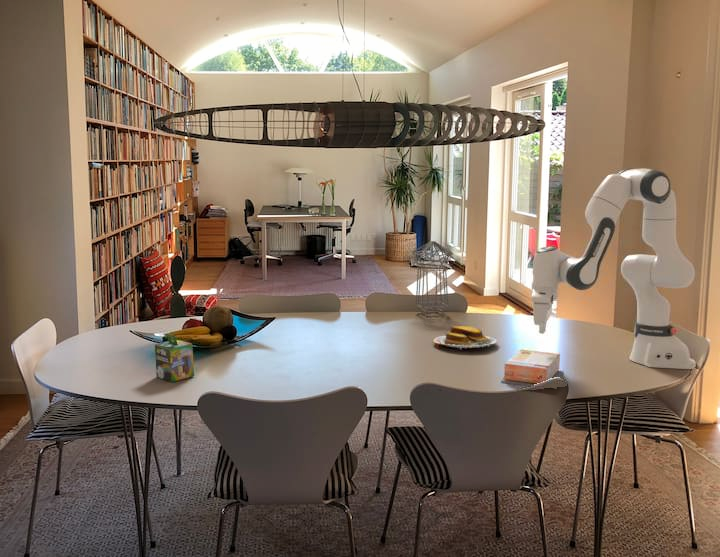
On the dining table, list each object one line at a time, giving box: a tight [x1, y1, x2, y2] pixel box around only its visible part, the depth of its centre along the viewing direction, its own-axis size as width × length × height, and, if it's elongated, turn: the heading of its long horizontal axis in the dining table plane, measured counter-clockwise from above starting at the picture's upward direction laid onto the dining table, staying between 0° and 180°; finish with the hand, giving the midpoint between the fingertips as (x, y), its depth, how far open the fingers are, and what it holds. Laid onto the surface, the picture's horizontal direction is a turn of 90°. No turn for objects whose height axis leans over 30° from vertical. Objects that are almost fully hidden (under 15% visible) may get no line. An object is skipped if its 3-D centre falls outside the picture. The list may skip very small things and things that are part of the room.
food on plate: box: [432, 325, 498, 350], centre depth 287 cm, size 25×25×7 cm
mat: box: [501, 370, 565, 387], centre depth 245 cm, size 18×20×1 cm
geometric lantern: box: [411, 240, 454, 318], centre depth 340 cm, size 16×16×35 cm
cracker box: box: [503, 349, 561, 384], centre depth 246 cm, size 14×6×21 cm
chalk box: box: [154, 333, 195, 383], centre depth 241 cm, size 9×9×15 cm
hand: (542, 332), depth 253 cm, fingers closed
